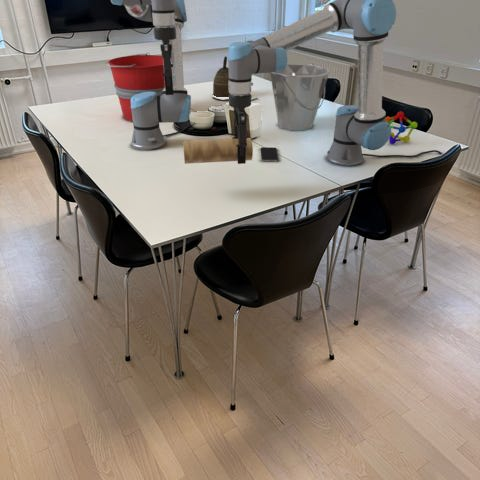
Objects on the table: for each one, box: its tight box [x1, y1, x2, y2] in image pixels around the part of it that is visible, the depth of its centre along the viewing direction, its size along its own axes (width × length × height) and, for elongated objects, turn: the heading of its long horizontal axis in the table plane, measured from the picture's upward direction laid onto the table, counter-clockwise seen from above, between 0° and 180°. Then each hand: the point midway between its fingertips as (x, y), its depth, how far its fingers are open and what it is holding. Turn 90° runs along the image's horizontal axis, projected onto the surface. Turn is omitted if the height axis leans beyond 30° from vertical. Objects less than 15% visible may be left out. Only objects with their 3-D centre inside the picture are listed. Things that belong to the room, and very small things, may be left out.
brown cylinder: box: [182, 137, 254, 165], centre depth 155 cm, size 24×8×8 cm, turn 98°
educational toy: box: [385, 110, 418, 145], centre depth 207 cm, size 16×13×15 cm
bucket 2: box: [269, 63, 330, 131], centre depth 226 cm, size 30×30×28 cm
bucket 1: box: [105, 52, 165, 123], centre depth 239 cm, size 35×35×30 cm
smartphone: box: [260, 146, 279, 162], centre depth 196 cm, size 7×1×15 cm
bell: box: [212, 56, 230, 97], centre depth 278 cm, size 19×26×20 cm
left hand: (169, 90), depth 163 cm, fingers open, 13 cm apart
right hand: (239, 158), depth 158 cm, fingers closed on brown cylinder, 8 cm apart
